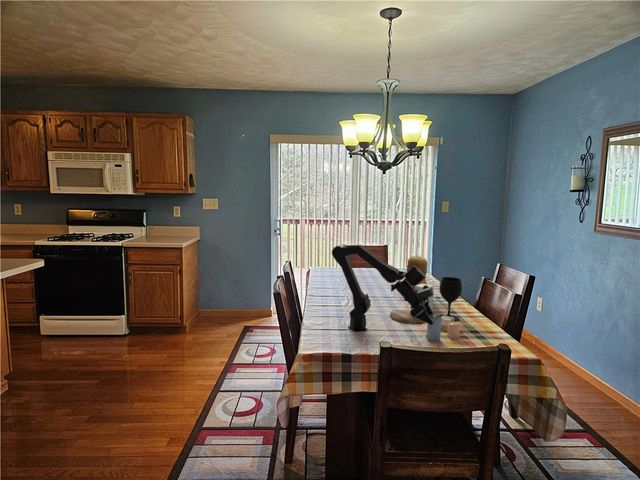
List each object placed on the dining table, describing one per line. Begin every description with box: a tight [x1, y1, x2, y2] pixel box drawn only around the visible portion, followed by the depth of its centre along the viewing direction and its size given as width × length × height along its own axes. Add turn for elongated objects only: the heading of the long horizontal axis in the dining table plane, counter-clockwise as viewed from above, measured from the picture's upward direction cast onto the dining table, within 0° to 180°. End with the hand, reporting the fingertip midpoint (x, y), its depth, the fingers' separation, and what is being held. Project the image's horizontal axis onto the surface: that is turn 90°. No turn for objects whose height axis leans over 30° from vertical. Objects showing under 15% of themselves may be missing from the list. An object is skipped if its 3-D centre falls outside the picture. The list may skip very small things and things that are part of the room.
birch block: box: [441, 316, 454, 332], centre depth 178 cm, size 5×5×5 cm
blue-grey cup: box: [426, 314, 442, 343], centre depth 163 cm, size 6×6×10 cm
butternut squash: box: [406, 255, 428, 289], centre depth 227 cm, size 14×13×25 cm
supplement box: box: [415, 283, 435, 310], centre depth 208 cm, size 7×7×13 cm
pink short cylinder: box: [446, 321, 461, 340], centre depth 166 cm, size 5×5×6 cm
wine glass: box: [438, 276, 463, 323], centre depth 192 cm, size 10×10×20 cm
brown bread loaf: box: [389, 309, 425, 325], centre depth 192 cm, size 18×18×1 cm
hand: (433, 320), depth 163 cm, fingers open, 9 cm apart
